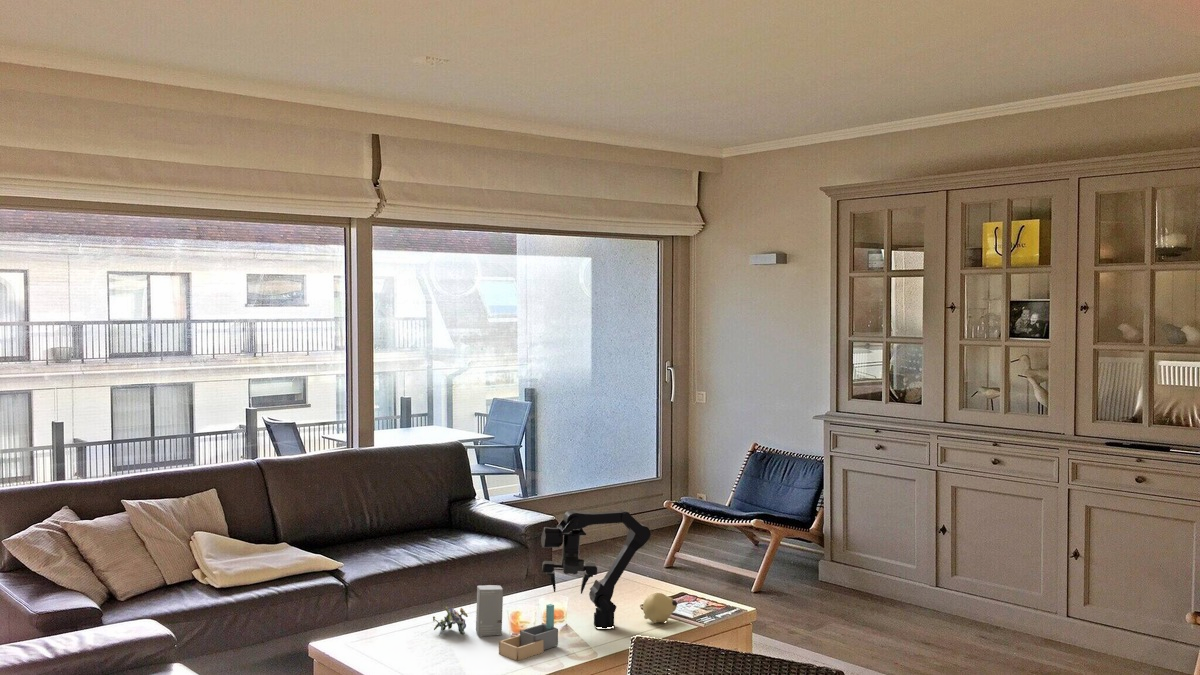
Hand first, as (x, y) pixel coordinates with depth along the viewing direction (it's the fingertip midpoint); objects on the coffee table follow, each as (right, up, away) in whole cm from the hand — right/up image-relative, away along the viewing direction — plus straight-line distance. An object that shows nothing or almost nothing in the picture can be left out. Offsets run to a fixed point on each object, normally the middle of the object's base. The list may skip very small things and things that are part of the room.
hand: (568, 592), depth 335 cm
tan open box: (-14, -13, -23) cm, 30 cm away
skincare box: (-27, -13, -4) cm, 30 cm away
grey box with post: (-9, -13, -18) cm, 25 cm away
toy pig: (+32, -13, +10) cm, 36 cm away
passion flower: (-40, -13, -6) cm, 42 cm away
